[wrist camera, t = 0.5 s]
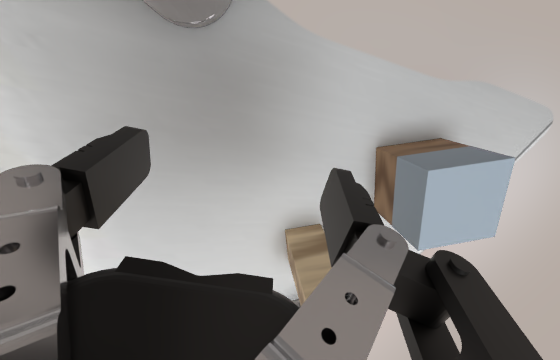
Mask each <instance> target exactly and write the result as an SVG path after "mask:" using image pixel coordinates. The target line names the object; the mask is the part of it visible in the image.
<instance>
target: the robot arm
mask: <svg viewBox="0 0 560 360" xmlns="http://www.w3.org/2000/svg"><path fill="white" fill-rule="evenodd" d="M143 1H144V2H145V3H146V4H148V5H149V6H150V7H151V8H152V9H153V10H155V11H156V12H157V13H158V14H160V15H161V16H162V17H164V18H165V19H166V20H168V21H170V22H172V23H174V24H176V25H180V26H184V27H192V28H198V27H202V26H207V25H209V24H211V23H213V22H215V21H216V20H217V19H219V18H220V17H221V16H222V15H223V14H224V13H225V11H226V10H227V9H228V7H229V5H230V3H231V1H232V0H143ZM150 165H151V162H150V149H149V136H148V133H147V131H146V130H143V129H138V128H133V127H128V126H125V127H123V128H121V129H120V130H118V131H116V132H115V133H113V134H111V135H108V136H104V137H101V138H97V139H95V140H93V141H92V142H90V143H88V144H87V145H86V146H83V147H82V148H80V149H78V151H75V152H73V153H72V154H70V155H68V156H67V157H65V158H63V159H62V160H60V161H58V162H57V163H55V164H53V165H52V166H49V165H25V166H20V167H16V168H12V169H9V170H7V171H4V172H2V173H0V360H367V357H368V355H369V352H370V350H371V348H372V345H373V343H374V341H375V338H376V336H377V333H378V331H379V329H380V326H381V324H382V321H383V319H384V317H385V314H386V311H387V309H390V310H392V311H395V312H396V313H397V317H398V319H399V323H400V326H401V329H402V331H403V335H404V337H405V340H406V344H407V347H408V349H409V353H410V356H411V359H412V360H543V359H542V358H541V357H540V355H539V354H538V352H537V351H536V350H535V348H534V347H533V345H532V344H531V343H530V341H529V340H528V339H527V337H526V336H525V335H524V333H523V332H522V331H521V329H520V328H519V326H518V325H517V324H516V322H515V321H514V320H513V318H512V317H511V315H510V314H509V313H508V311H507V310H506V309H505V307H504V306H503V305H502V303H501V302H500V300H499V299H498V298H497V296H496V295H495V293H494V292H493V291H492V290H491V288H490V287H489V285H488V284H487V282H486V281H485V280H484V278H483V277H482V276H481V274H480V273H479V272H478V270H477V269H476V268H475V267H474V266H473V265H472V264H471V263H470V262H468V261H467V260H466V259H464V258H462V257H461V256H459V255H457V254H455V253H452V252H449V251H445V250H439V251H437V252H436V253H435V254H434V255H433V257H432V258H431V259H430V258H427V257H425V256H422V255H420V254H418V253H415V252H413V251H410V250H408V244H407V242H406V241H405V239H404V238H403V237H402V236H401V235H400V234H399V233H397V232H396V231H394V230H393V229H391V228H389V227H386V226H384V224H383V222H382V220H381V218H380V216H379V214H378V212H377V210H376V208H375V207H374V204H373V202H372V200H371V198H370V196H369V194H368V192H367V191H366V190H365V189H364V188H363V187H362V186H361V185H360V184H358V183H356V182H355V180H354V178H353V175H352V173H351V171H348V170H343V169H337V168H333V169H332V170H331V172H330V175H329V178H328V180H327V183H326V186H325V188H324V191H323V194H322V197H321V201H320V211H321V216H322V222H323V227H324V232H325V237H326V243H327V248H328V253H329V258H330V264H331V267H332V268H331V269H330V271H329V272H328V273H327V274H326V276H325V277H324V278H323V279H322V281H321V282H320V283H319V284H318V286H317V287H316V288H315V289H314V291H313V292H312V293H311V294H310V296H309V297H308V298H307V299H306V301H305V302H304V303H303V304H302V306H301V307H300V308H299V307H298V306H297V305H296V304H295V303H294V302H293V301H291V300H290V299H288V298H287V297H285V296H284V295H282V294H280V293H278V292H276V291H274V290H273V278H266V277H260V276H253V275H246V274H240V273H236V274H222V275H209V276H197V275H194V274H192V273H189V272H187V271H184V270H182V269H179V268H177V267H174V266H172V265H169V264H167V263H164V262H160V261H153V260H147V259H140V258H133V257H127V256H125V258H124V259H123V260H122V262H121V263H120V265H119V266H118V268H113V269H107V270H101V271H97V272H93V273H89V274H86V275H84V269H83V260H82V252H81V243H80V236H79V233H78V231H79V230H80V229H81V228H82V227H88V228H94V229H99V228H100V227H101V226H102V225H103V224H104V223H105V222H106V221H107V220H108V219H109V218H110V216H111V215H112V214H113V213H114V212H115V211H116V210H117V209H118V208H119V207H120V206H121V204H122V203H123V202H124V201H125V200H126V199H127V198H128V197H129V196H130V195H131V194H132V193H133V191H134V190H135V189H136V188H137V187H138V186H139V185H140V184H141V183H142V182H143V181H144V179H145V178H146V177H147V176H148V174H149V171H150ZM449 317H451V319H452V321H453V323H454V325H455V327H456V329H457V331H458V333H459V335H460V338H461V342H462V351H461V353H459V351H458V349H457V347H456V345H455V343H454V341H453V338H452V336H451V334H450V332H449V330H448V328H447V326H446V324H445V321H446V320H447V319H448V318H449Z"/></svg>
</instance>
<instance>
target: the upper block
mask: <svg viewBox="0 0 560 360" xmlns="http://www.w3.org/2000/svg"><path fill="white" fill-rule="evenodd" d="M514 161H515V158H514V157H510V156H507V155H503V154H499V153H495V152H492V151H488V150H484V149H480V148H476V147H473V146H468V147H461V148H454V149H447V150H440V151H433V152H426V153H419V154H412V155H405V156H398V157H397V164H396V177H395V190H394V203H393V216H392V227H393V228H394V229H396V230H397V231H398V232H399V233H400V234H401V235H402V236H403V237H404V238H405V239H406V240H407V241H408V242H409V243H410V244H411V245H413V246H414V247H415V248H416V249H417V250H418V251H419V250H424V249H430V248H435V247H441V246H446V245H452V244H457V243H462V242H468V241H474V240H479V239H484V238H490V237H495V234H496V230H497V226H498V222H499V219H500V215H501V211H502V207H503V203H504V199H505V196H506V191H507V188H508V184H509V180H510V176H511V173H512V168H513V165H514Z"/></svg>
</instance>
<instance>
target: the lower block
mask: <svg viewBox="0 0 560 360" xmlns="http://www.w3.org/2000/svg"><path fill="white" fill-rule="evenodd" d="M461 147H468V145H464V144H460V143H456V142H453V141H449V140H445V139H441V138H439V139H433V140H426V141H419V142H412V143H405V144H398V145H391V146H384V147H377V148H376V171H375V197H374V207H375V208H376V210H377V212H378V213H379V214H380V215H381V216H382V217H383V218H384V219H385V220H386V221H387V222H389V223H390V224H391V225H392V216H393V203H394V190H395V177H396V164H397V157H398V156H405V155H412V154H419V153H426V152H433V151H440V150H447V149H454V148H461Z"/></svg>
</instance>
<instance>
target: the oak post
mask: <svg viewBox="0 0 560 360" xmlns="http://www.w3.org/2000/svg"><path fill="white" fill-rule="evenodd" d="M285 234H286V243H287V252H288V260H289V263H290V267H291V271H292V275H293V278H294V282H295V286H296V290H297V293H298V297H299V301H300V305H301V306H302V304H303V303H304V302H305V301H306V299H307V298H308V297H309V296H310V294H311V293H312V292H313V291H314V289H315V288H316V287H317V286H318V284H319V283H320V282H321V281H322V279H323V278H324V277H325V276H326V274H327V273H328V272H329V271H330V269H331V268H332V267H331V264H330V258H329V253H328V248H327V243H326V237H325V232H324V230H323V229H322V227H321V225H320V224H317V225H311V226H305V227H299V228H293V229H287V230H285Z"/></svg>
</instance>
